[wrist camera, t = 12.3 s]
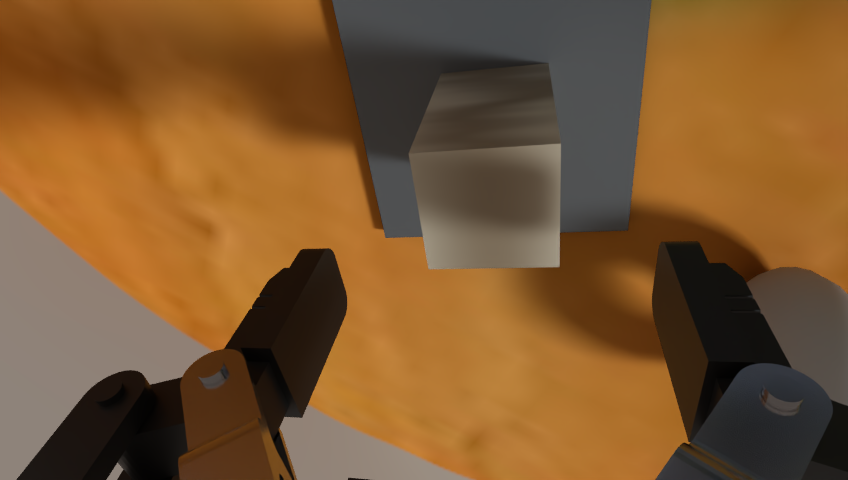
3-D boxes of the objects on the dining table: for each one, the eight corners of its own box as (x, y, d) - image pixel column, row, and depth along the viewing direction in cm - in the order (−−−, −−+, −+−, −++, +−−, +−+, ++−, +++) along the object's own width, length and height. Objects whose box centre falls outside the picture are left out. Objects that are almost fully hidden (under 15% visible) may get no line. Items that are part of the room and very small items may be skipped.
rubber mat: (653, -61, 16) (657, -60, 16) (625, 222, 22) (628, 230, 22) (334, -16, 19) (329, -13, 18) (388, 230, 25) (385, 237, 24)
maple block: (548, 63, 18) (560, 143, 13) (548, 161, 21) (559, 267, 15) (440, 73, 19) (408, 153, 14) (452, 167, 22) (428, 269, 16)
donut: (713, 229, 22) (824, 430, 14) (805, 211, 21) (984, 418, 13) (727, 378, 27) (816, 590, 19) (803, 370, 26) (930, 591, 18)
